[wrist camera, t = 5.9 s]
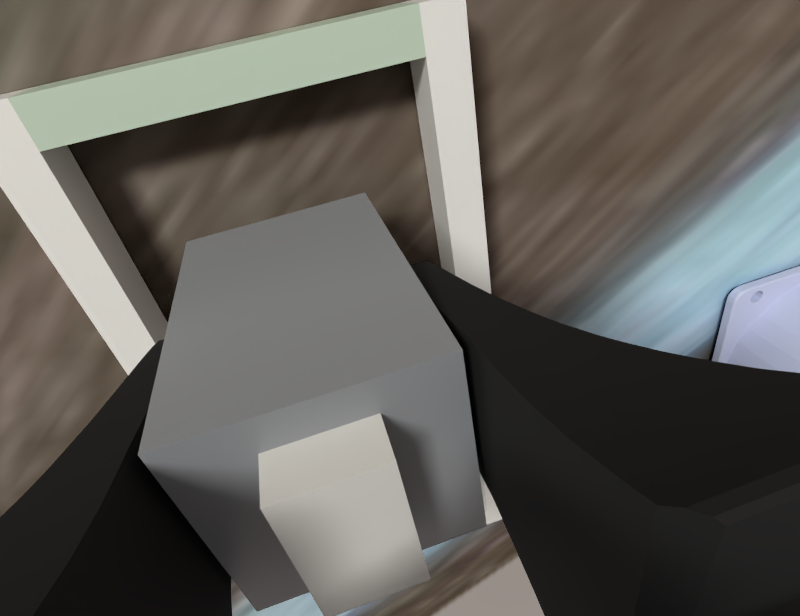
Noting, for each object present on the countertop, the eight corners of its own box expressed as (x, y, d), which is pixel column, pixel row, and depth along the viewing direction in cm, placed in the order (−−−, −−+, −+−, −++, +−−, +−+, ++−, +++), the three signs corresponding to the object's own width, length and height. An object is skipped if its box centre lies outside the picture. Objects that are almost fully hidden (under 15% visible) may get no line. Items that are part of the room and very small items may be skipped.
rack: (442, -7, 11) (465, -8, 10) (496, 488, 22) (510, 515, 21) (-17, 98, 10) (-51, 111, 9) (278, 567, 21) (280, 600, 20)
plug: (364, 192, 11) (489, 392, 5) (397, 330, 13) (507, 570, 8) (186, 241, 10) (122, 516, 5) (251, 376, 13) (258, 666, 7)
